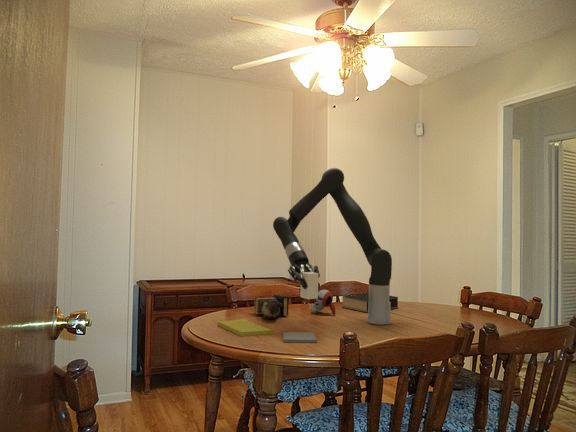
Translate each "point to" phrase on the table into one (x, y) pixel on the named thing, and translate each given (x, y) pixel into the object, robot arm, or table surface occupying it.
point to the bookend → (271, 306)
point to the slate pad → (299, 337)
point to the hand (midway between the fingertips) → (311, 287)
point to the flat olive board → (244, 328)
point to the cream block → (310, 286)
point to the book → (364, 302)
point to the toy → (322, 301)
